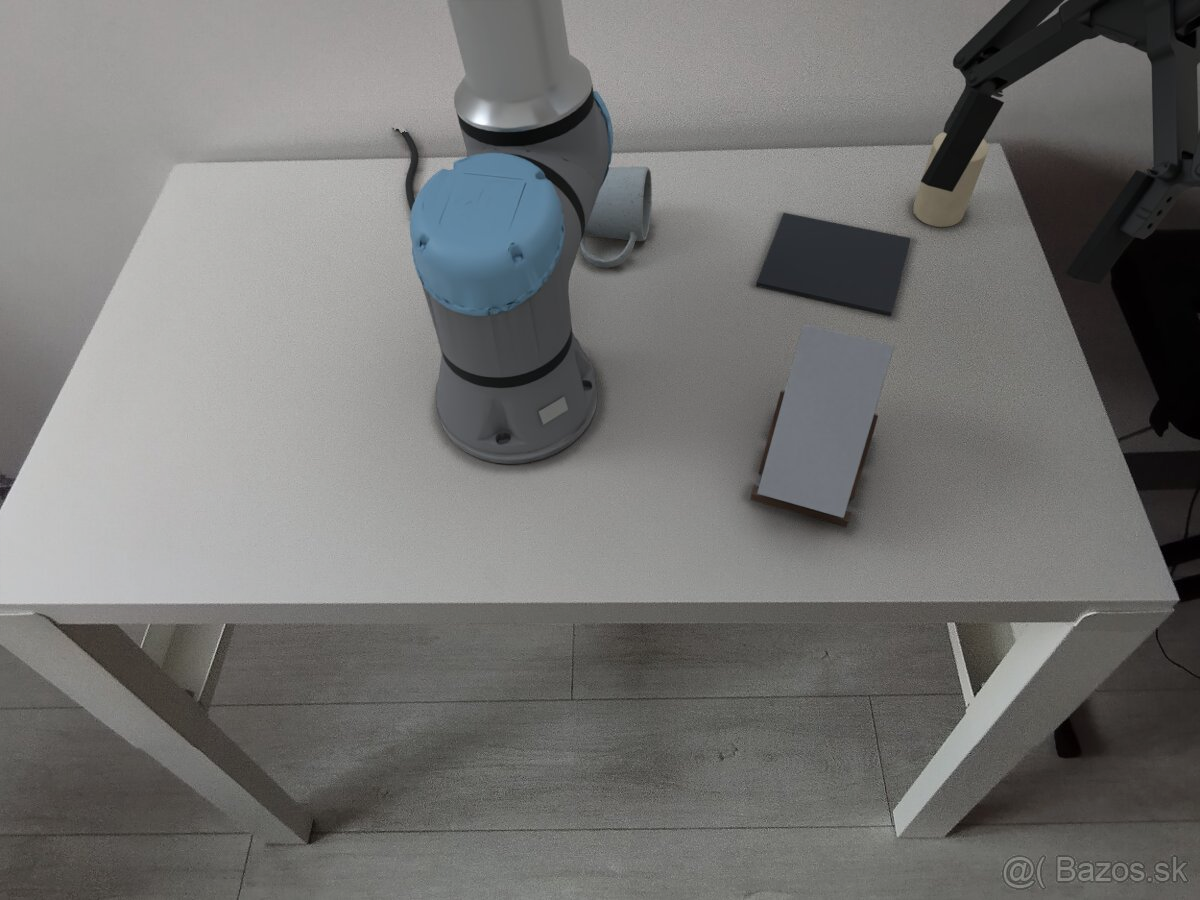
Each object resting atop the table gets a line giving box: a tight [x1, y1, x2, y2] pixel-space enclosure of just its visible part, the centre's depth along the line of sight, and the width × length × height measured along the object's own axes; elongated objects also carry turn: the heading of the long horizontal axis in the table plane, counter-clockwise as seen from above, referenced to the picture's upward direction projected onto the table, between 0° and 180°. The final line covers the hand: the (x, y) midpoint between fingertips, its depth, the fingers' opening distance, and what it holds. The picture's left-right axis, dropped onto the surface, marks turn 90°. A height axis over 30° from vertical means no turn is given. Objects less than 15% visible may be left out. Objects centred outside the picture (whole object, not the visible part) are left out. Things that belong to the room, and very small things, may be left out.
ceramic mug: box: [579, 166, 653, 268], centre depth 91 cm, size 11×8×8 cm
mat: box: [756, 212, 911, 316], centre depth 90 cm, size 14×12×1 cm
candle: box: [912, 131, 990, 228], centre depth 91 cm, size 6×6×10 cm
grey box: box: [757, 323, 895, 518], centre depth 69 cm, size 14×7×14 cm, turn 159°
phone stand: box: [749, 389, 879, 528], centre depth 73 cm, size 10×8×7 cm
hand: (1003, 229), depth 56 cm, fingers open, 13 cm apart
